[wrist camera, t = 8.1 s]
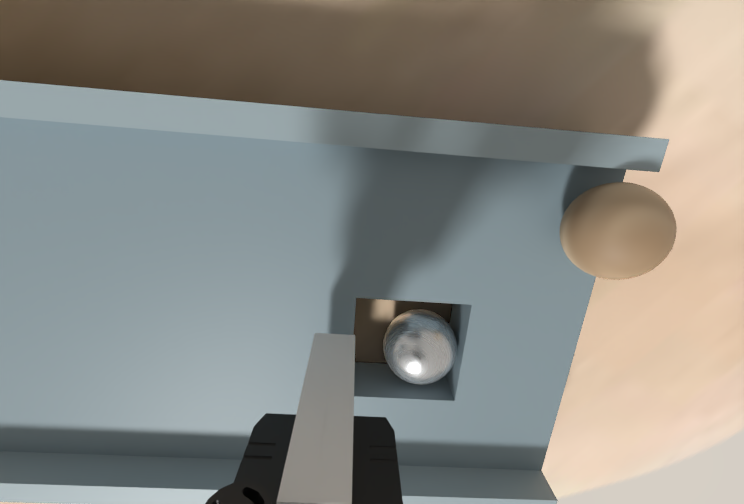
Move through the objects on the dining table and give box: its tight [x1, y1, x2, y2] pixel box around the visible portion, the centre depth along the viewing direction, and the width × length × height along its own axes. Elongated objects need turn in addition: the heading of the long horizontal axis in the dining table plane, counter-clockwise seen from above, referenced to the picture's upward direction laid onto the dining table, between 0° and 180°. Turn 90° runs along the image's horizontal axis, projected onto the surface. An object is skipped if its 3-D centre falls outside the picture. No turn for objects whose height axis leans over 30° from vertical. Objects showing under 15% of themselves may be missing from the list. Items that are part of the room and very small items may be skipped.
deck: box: [0, 80, 669, 504], centre depth 15 cm, size 16×26×4 cm, turn 85°
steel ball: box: [383, 309, 457, 385], centre depth 16 cm, size 3×3×3 cm
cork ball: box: [560, 182, 676, 280], centre depth 12 cm, size 3×3×3 cm
